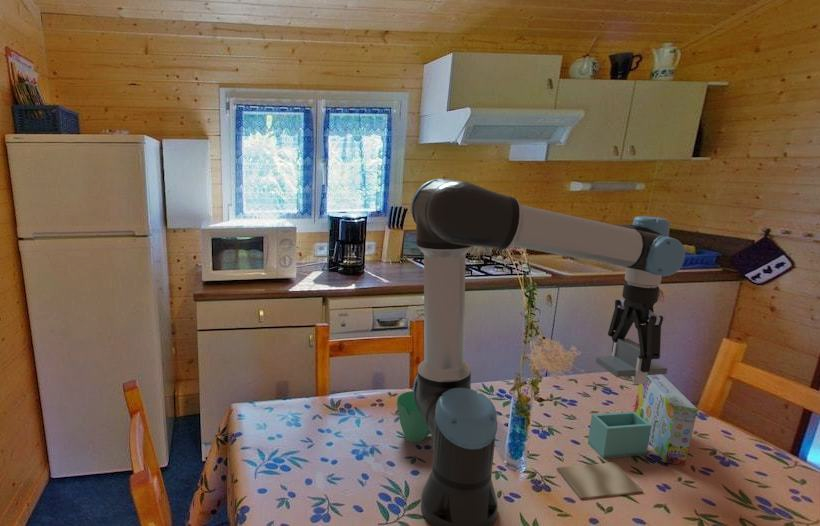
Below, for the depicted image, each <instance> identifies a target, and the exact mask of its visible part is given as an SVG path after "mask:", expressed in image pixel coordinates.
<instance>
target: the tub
mask: <svg viewBox="0 0 820 526" xmlns="http://www.w3.org/2000/svg"><path fill="white" fill-rule="evenodd" d="M650 430H651V425H650V424H649V423H648V422H647V421H645V420H644V419H643V418H641V417H640V416H639V415H638V414H636V413H635V412H634V411H622V412H608V413H607V412H606V413H595V414H594V413H593V414H592V413H591V418H590V423H589V433H588V438H587V444H588V445H589V446H590V448H592V449H593V450H594V451H595V452H596V453H597V454H598V456H600V457H601V459H614V458H623V457H624V458H625V457H635V456H646V455H647V452H648V447H649V443H650V441H649V436H650Z"/></svg>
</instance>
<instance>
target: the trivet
mask: <svg viewBox="0 0 820 526" xmlns="http://www.w3.org/2000/svg"><path fill="white" fill-rule="evenodd" d="M556 470H557V472H558V473H559V474H560V476H561V477H562V478H563V479H564V481H565V482H566V483H567V485H569V487H570V488H571V490H572V491H574V493H575V495H577V497H578V498H579V500H586V499H595V498H606V497H615V496H621V495H631V494H640V493H641V494H642V493H643V492H644V490H643V489H642V488H641V487H640V486H639V485H638V484H637V483H636V482H635V481H634V480H633V479H632V478H631V477H630V476H629V475H628V474H627V473H626V472H625V471H624V470H623V469H622V468H621V467H620V466H619V464H617V463H616V462H614V461H612V462H606V463H604V462H603V463H593V464H581V465H572V466H561V467H560V466H559V467H556Z"/></svg>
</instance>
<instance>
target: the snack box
mask: <svg viewBox="0 0 820 526" xmlns="http://www.w3.org/2000/svg"><path fill="white" fill-rule="evenodd" d="M635 399H636V400H635V405H634V410H633V412H635V413H636V414H638V415H639V416H640V417H641V418H643V419H644V420H645V421H647V422H648V423H649V424H650V425H651V430H650V436H649V443H650V444H651V445H652V447H653V449H654V450H655V451H656V452H657V454H658V456H659V457H660V458H661V460H662V461H663V463H667V464H673V465H679V466H685V465H686V463H687V458H688V454H689V450H690V444H691V441H692V436H693V431H694V426H695V422H696V417H697V414H698V413H697V412H698V408H697V407H696V406H695V405H694V404H693V403H692V402H691V401H690V400H689V399H688V398H687V397H686V396H685V395H684V394H683V393H682V392H681V391H680V390H679V389H678V388H676V386H675V385H674V384H672V382H671V381H670V380H669V379H668V378H667V377H665V376H664V374H660V375H647V380H646V384H638V388H637V393H636V398H635Z"/></svg>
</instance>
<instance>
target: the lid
mask: <svg viewBox="0 0 820 526" xmlns="http://www.w3.org/2000/svg"><path fill="white" fill-rule="evenodd" d="M646 353H647V352H646ZM638 356H641V353H640V346H639V342H636V341H634V340H632V339H631V338H629V337H628V338H626V337H625V339H618V341H617V347H616V354H615V356H612V355H607V356H606V355H603V356H596V357H595V364H597V365H598V366H600V367H601V368H603V369H605V370H606V372H609V373H610V374H611V375H613V376H615V377H616V378H622V377H635V371H636V364H637V358H638ZM660 374H662V375H667V374H668V367H666V366H664V365H663V364H661V363H659V362H658V361H656V360H655V359H652V360H651V365H650V371H649V372H648V374H647V375H660Z"/></svg>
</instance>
